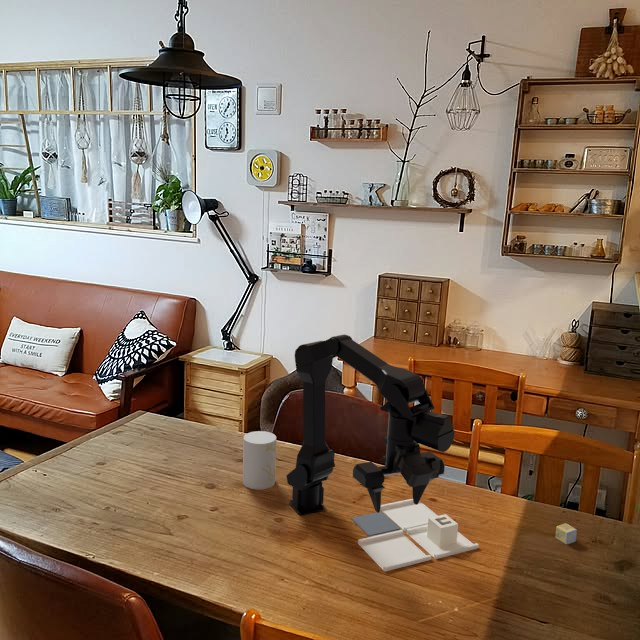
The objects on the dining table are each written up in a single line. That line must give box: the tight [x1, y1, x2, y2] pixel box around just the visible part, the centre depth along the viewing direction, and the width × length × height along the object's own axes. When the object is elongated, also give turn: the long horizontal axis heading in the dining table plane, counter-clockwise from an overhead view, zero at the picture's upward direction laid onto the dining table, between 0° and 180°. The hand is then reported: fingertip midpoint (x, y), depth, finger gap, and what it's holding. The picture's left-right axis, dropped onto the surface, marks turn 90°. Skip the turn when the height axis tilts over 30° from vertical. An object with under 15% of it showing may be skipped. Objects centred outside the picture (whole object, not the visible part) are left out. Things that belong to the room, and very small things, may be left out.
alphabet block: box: [555, 523, 578, 545], centre depth 141 cm, size 3×3×3 cm
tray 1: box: [380, 498, 439, 533], centre depth 148 cm, size 11×11×1 cm
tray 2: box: [357, 529, 432, 572], centre depth 133 cm, size 11×11×1 cm
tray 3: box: [405, 524, 480, 560], centre depth 138 cm, size 11×11×1 cm
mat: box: [350, 510, 401, 537], centre depth 144 cm, size 8×8×1 cm
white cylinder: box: [242, 430, 277, 490], centre depth 161 cm, size 8×8×12 cm
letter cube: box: [427, 513, 459, 548], centre depth 138 cm, size 4×4×5 cm
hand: (396, 507), depth 132 cm, fingers open, 9 cm apart
